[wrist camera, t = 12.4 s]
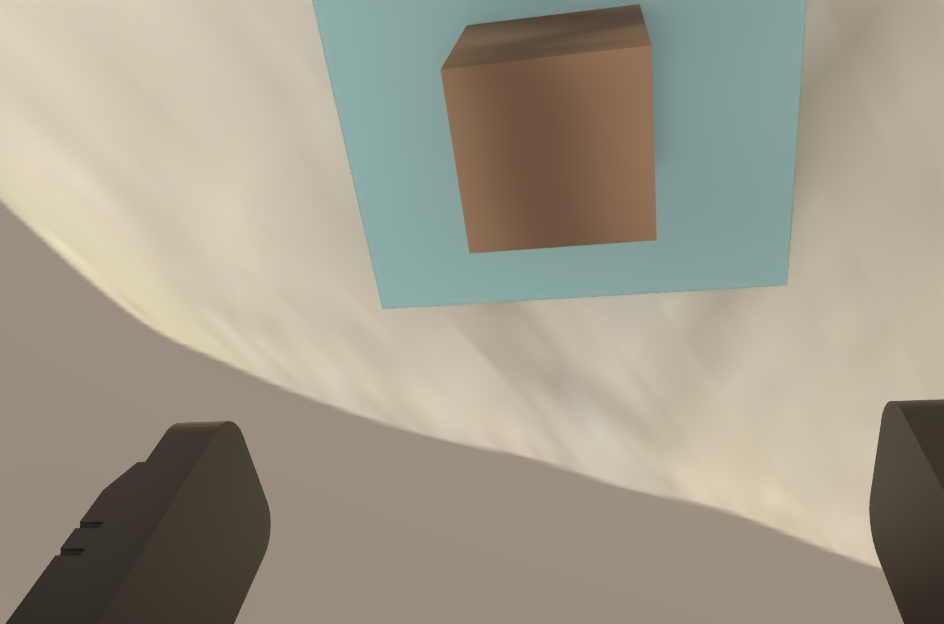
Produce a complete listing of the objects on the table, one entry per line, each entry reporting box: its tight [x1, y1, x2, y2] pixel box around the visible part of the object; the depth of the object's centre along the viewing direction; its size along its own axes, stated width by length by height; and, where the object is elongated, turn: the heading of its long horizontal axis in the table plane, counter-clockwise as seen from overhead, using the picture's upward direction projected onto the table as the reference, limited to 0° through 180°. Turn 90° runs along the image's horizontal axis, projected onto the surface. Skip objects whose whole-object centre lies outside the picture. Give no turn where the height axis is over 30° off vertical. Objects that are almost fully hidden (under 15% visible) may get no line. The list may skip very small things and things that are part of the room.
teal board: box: [312, 0, 806, 309], centre depth 25 cm, size 14×14×2 cm
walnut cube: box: [440, 4, 657, 254], centre depth 22 cm, size 5×5×5 cm
